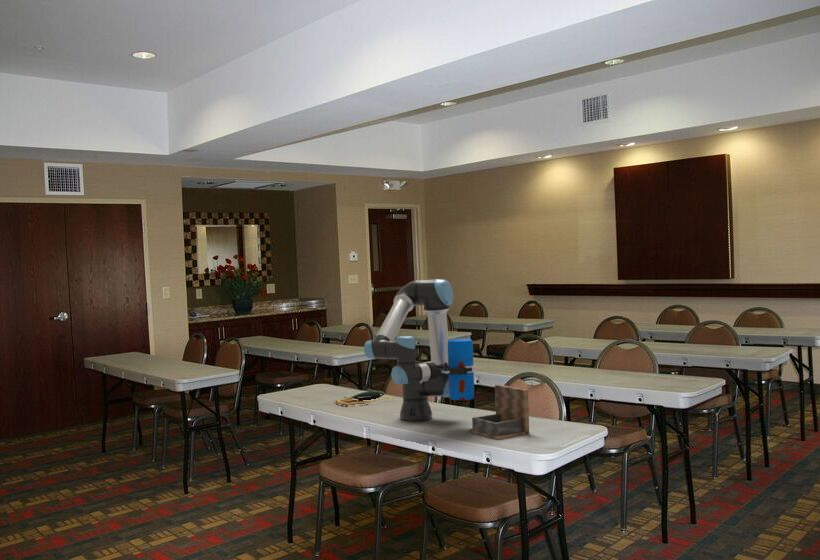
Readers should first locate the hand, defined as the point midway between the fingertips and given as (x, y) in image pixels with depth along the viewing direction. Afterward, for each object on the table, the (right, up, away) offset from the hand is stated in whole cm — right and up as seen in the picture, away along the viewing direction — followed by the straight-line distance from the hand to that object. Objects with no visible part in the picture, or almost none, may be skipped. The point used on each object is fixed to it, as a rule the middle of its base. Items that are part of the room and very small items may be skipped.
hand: (468, 367), depth 307 cm
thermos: (-3, -13, -2) cm, 14 cm away
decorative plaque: (-50, -28, +70) cm, 90 cm away
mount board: (+11, -26, -13) cm, 31 cm away
